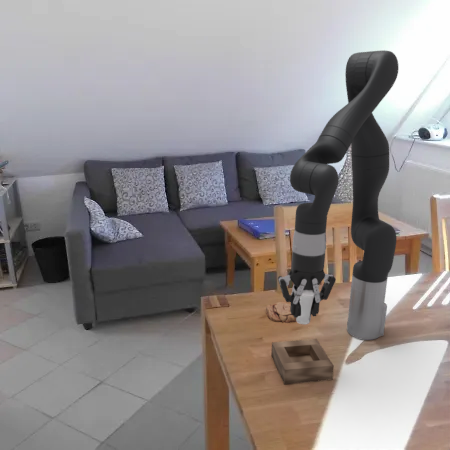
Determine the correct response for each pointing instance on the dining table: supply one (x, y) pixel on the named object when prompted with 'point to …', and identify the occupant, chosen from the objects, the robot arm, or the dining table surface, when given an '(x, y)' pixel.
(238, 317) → the dining table surface
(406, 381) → the dining table surface
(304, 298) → the milkshake
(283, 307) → the cookie
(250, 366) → the dining table surface
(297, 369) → the socket block
